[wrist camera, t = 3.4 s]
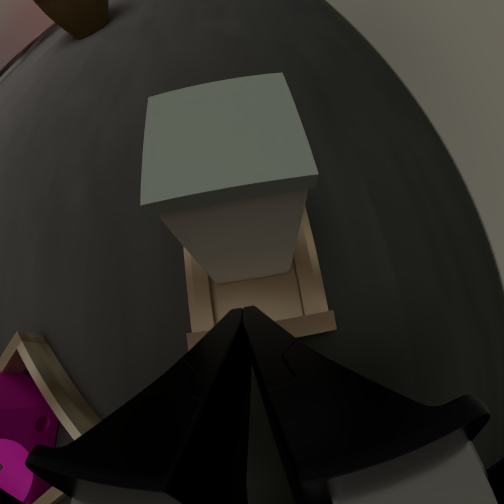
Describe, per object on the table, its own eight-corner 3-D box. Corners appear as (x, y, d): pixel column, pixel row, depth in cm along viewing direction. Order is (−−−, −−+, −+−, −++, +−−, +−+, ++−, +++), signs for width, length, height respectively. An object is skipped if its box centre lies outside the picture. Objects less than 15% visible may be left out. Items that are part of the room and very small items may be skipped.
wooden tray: (328, 331, 19) (336, 329, 17) (199, 351, 19) (188, 352, 17) (275, 110, 25) (275, 91, 23) (181, 126, 25) (174, 108, 23)
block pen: (125, 447, 17) (102, 460, 14) (36, 518, 13) (19, 526, 10) (43, 335, 20) (17, 331, 17) (-21, 435, 16) (-40, 437, 13)
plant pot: (108, 9, 41) (88, -41, 26) (136, 14, 37) (114, -48, 22) (53, 45, 38) (26, -3, 23) (70, 56, 35) (36, -5, 19)
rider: (291, 274, 19) (318, 174, 8) (214, 286, 19) (140, 205, 8) (278, 208, 20) (282, 72, 9) (207, 220, 21) (148, 97, 9)
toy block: (20, 367, 19) (-38, 362, 12) (62, 402, 18) (-1, 409, 11) (10, 474, 15) (-34, 485, 8) (49, 509, 14) (5, 529, 7)
